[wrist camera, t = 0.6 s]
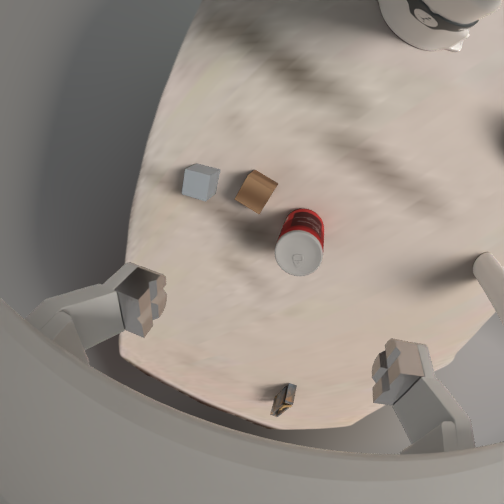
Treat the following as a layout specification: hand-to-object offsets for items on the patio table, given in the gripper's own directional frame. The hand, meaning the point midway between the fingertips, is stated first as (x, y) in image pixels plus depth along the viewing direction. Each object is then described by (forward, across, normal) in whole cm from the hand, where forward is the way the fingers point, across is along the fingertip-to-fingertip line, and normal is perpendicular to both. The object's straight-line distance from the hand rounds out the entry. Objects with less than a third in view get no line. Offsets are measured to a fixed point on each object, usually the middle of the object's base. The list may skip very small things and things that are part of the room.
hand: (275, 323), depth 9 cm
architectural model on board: (+43, -12, +70) cm, 83 cm away
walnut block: (+42, +8, +9) cm, 43 cm away
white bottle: (+42, -44, +10) cm, 61 cm away
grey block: (+42, +19, +9) cm, 47 cm away
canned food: (+42, -2, +14) cm, 44 cm away
